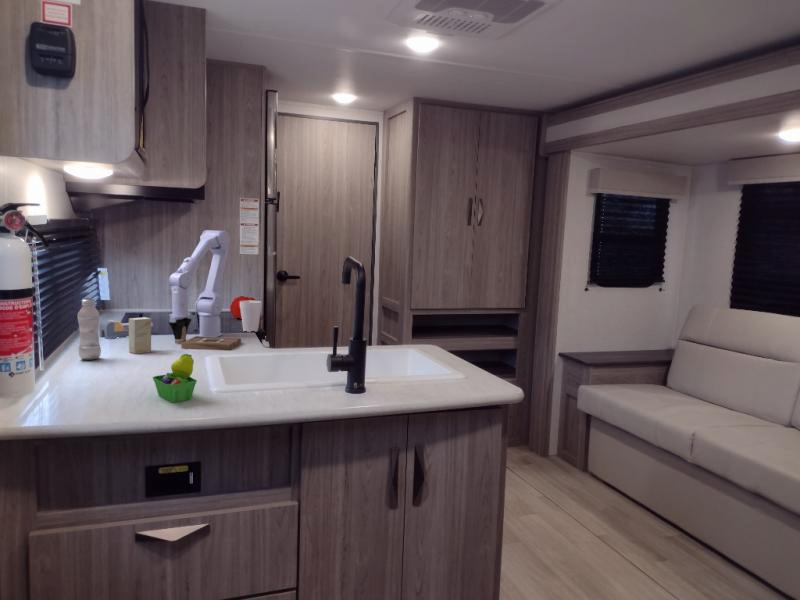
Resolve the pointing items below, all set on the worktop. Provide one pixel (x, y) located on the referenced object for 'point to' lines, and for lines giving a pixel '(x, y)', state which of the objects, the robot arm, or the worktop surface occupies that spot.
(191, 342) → the socket board
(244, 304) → the foam cup
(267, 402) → the worktop surface
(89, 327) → the plastic bottle
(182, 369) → the fruit basket
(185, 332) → the peg
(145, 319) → the skincare box
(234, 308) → the tomato
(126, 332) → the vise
